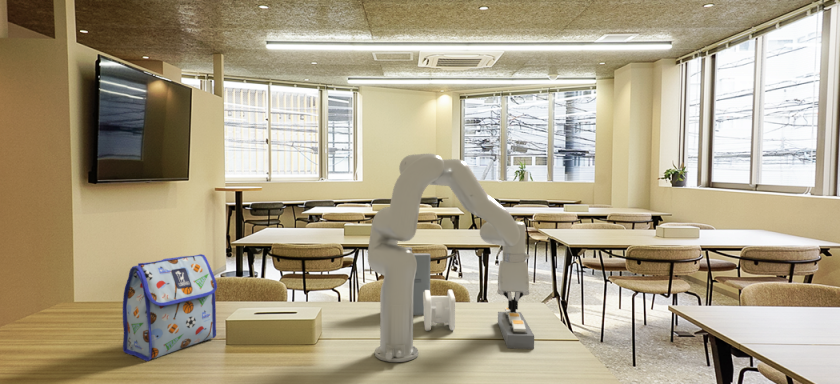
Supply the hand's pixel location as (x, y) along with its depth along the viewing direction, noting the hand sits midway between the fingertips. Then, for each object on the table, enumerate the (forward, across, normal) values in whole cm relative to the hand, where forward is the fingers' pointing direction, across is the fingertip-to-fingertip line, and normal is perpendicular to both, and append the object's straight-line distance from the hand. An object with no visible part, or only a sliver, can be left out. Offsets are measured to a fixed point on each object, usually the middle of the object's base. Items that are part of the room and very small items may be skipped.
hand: (512, 311), depth 165 cm
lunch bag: (+6, +105, +25) cm, 108 cm away
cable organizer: (+6, +25, -1) cm, 26 cm away
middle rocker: (+1, 0, +6) cm, 6 cm away
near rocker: (+1, 0, +14) cm, 14 cm away
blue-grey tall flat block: (+6, +37, -16) cm, 41 cm away
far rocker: (+1, 0, -2) cm, 2 cm away
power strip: (+6, 0, +1) cm, 6 cm away
